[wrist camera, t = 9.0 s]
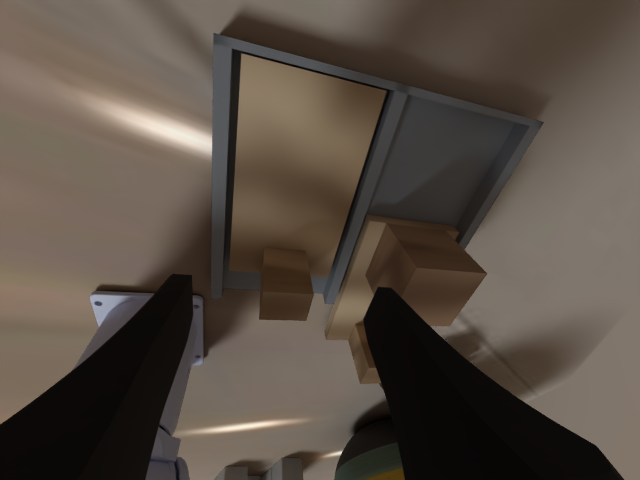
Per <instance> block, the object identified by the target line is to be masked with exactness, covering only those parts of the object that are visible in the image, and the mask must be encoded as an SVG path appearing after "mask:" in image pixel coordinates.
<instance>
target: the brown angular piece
mask: <svg viewBox="0 0 640 480" xmlns="http://www.w3.org/2000/svg"><path fill="white" fill-rule="evenodd" d="M386 223H389V224H397V225H405V226H413V227H421V228H429V229H437V230H445V231H446V232H447V233H448V234H449V235H450V236H451V237H452V238H453V239H454V240H455V239H456V237H457V235H458V234H459V232H458V231H457V230H456V229H455V228H454V227H453V226H451V225H444V224H436V223H429V222H421V221H414V220H406V219H398V218H391V217H383V216H376V215H368V214H366V215H365V218H364V221H363V224H362V227H361V229H360V232H359V235H358V238H357V241H356V243H355V246H354V249H353V252H352V255H351V258H350V260H349V263H348V266H347V269H346V272H345V274H344V277H343V280H342V283H341V286H340V289H339V291H338V294H337V297H336V300H335V303H334V306H333V308H332V311H331V314H330V317H329V320H328V322H327V325H326V328H325V331H324V332H325V337H326V340H348V341H349V345H350V348H351V352H352V356H353V359H354V363H355V367H356V370H357V374H358V378H359V381H360V384H370V383H381V381H380V378H379V375H378V372H377V369H376V367H375V364H374V361H373V358H372V355H371V352H370V349H369V346H368V342H367V338H366V333H365V328H364V322H363V318H364V316H365V314H366V312H367V310H368V307H369V305H370V303H371V301H372V299H373V296H374V295H373V292H372V290H371V287H370V285H369V283H368V280H367V278H366V276H365V274H366V272H367V269H368V267H369V264H370V262H371V260H372V257H373V255H374V252H375V250H376V247H377V245H378V242H379V240H380V238H381V235H382V233H383V230H384V228H385V225H386Z"/></svg>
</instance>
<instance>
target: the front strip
mask: <svg viewBox="0 0 640 480" xmlns="http://www.w3.org/2000/svg"><path fill="white" fill-rule="evenodd" d="M386 92H387V91H385V90H382V89H379V88H375V87H371V86H368V85H364V84H360V83H356V82H352V81H348V80H344V79H340V78H337V77H333V76H329V75H325V74H321V73H317V72H313V71H310V70H306V69H302V68H298V67H294V66H290V65H286V64H283V63H279V62H275V61H271V60H267V59H263V58H259V57H256V56H252V55H248V54H244V53H241V71H240V89H239V106H238V124H237V142H236V159H235V177H234V195H233V212H232V230H231V248H230V265H229V271H241V272H256V273H261V287H260V314H259V319H261V320H299V321H306V320H307V316H308V313H309V309H310V306H311V302H312V299H313V296H314V292H313V287H312V281H311V276H315V277H328V276H329V273H330V270H331V267H332V264H333V260H334V257H335V254H336V251H337V248H338V245H339V241H340V238H341V235H342V232H343V229H344V225H345V222H346V219H347V216H348V213H349V210H350V206H351V203H352V200H353V197H354V194H355V190H356V187H357V184H358V181H359V178H360V175H361V171H362V168H363V165H364V162H365V159H366V155H367V152H368V149H369V146H370V143H371V140H372V136H373V133H374V130H375V127H376V124H377V121H378V117H379V114H380V111H381V108H382V105H383V101H384V98H385V95H386Z"/></svg>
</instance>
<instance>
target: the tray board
mask: <svg viewBox="0 0 640 480" xmlns="http://www.w3.org/2000/svg"><path fill="white" fill-rule="evenodd" d="M241 53H244V54H248V55H252V56H256V57H259V58H263V59H267V60H271V61H275V62H279V63H283V64H286V65H290V66H294V67H298V68H302V69H306V70H310V71H313V72H317V73H321V74H325V75H329V76H333V77H337V78H340V79H344V80H348V81H352V82H356V83H360V84H364V85H368V86H371V87H375V88H379V89H382V90H385V91H387V92H386V95H385V98H384V101H383V105H382V108H381V111H380V114H379V117H378V121H377V124H376V127H375V130H374V133H373V136H372V140H371V143H370V146H369V149H368V152H367V155H366V159H365V162H364V165H363V168H362V171H361V175H360V178H359V181H358V184H357V187H356V190H355V194H354V197H353V200H352V203H351V206H350V210H349V213H348V216H347V219H346V222H345V225H344V229H343V232H342V235H341V238H340V241H339V245H338V248H337V251H336V254H335V257H334V260H333V264H332V267H331V270H330V273H329V276H328V277H315V276H311V281H312V287H313V292H314V293H321V294H323V297H324V301H325V304H334V302H335V299H336V296H337V294H338V291H339V289H340V286H341V283H342V280H343V277H344V274H345V272H346V269H347V266H348V263H349V260H350V258H351V255H352V252H353V249H354V246H355V243H356V241H357V238H358V235H359V232H360V229H361V227H362V224H363V221H364V218H365V215H366V214H368V215H376V216H383V217H391V218H398V219H406V220H414V221H421V222H429V223H436V224H444V225H451V226H453V227H454V228H455V229H456V230H457V231H458V232H459V234H458V235H457V237H456V239H455V241H456V242H457V243H458V244H459V245H460V246H461V247H462V248H463V249H464V250H465V248H466V246H467V245H468V243H469V241H470V240H471V238H472V237H473V235H474V233H475V232H476V230H477V229H478V227H479V225H480V224H481V222H482V221H483V219H484V217H485V216H486V214H487V213H488V211H489V209H490V208H491V206H492V205H493V203H494V201H495V200H496V198H497V197H498V195H499V193H500V192H501V190H502V189H503V187H504V185H505V184H506V182H507V181H508V179H509V177H510V176H511V174H512V172H513V171H514V169H515V168H516V166H517V164H518V163H519V161H520V160H521V158H522V156H523V155H524V153H525V152H526V150H527V148H528V147H529V145H530V144H531V142H532V140H533V139H534V137H535V136H536V134H537V132H538V131H539V129H540V128H541V126H542V124H543V123H544V122H542V121H538V120H534V119H531V118H527V117H523V116H520V115H516V114H512V113H508V112H505V111H501V110H497V109H494V108H490V107H486V106H482V105H479V104H475V103H471V102H468V101H464V100H460V99H457V98H453V97H449V96H445V95H442V94H438V93H434V92H431V91H427V90H423V89H419V88H416V87H412V86H408V85H405V84H401V83H397V82H393V81H390V80H386V79H382V78H379V77H375V76H371V75H368V74H364V73H360V72H356V71H353V70H349V69H345V68H342V67H338V66H334V65H330V64H327V63H323V62H319V61H316V60H312V59H308V58H305V57H301V56H297V55H293V54H290V53H286V52H282V51H279V50H275V49H271V48H267V47H264V46H260V45H256V44H253V43H249V42H245V41H241V40H238V39H234V38H230V37H227V36H223V35H219V34H216V33H214V40H213V136H212V232H211V299H222V294H223V289H224V288H225V289H244V290H260V287H261V273H256V272H241V271H229V265H230V248H231V230H232V212H233V195H234V177H235V159H236V142H237V124H238V106H239V89H240V71H241Z"/></svg>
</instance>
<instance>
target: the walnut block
mask: <svg viewBox="0 0 640 480" xmlns="http://www.w3.org/2000/svg"><path fill="white" fill-rule="evenodd" d="M486 275H487V273H486V272H485V271H484V270H483V269H482V268H481V267H480V266H479V265H478V264H477V263H476V262H475V261H474V260H473V259H472V257H471V256H470V255H469V254H468V253H467V252H466V251H465V250H464V249H463V248H462V247H461V246H460V245H459V244H458V243H457V242H456V241H455V240H454V239H453V238H452V237H451V236H450V235H449V234H448V233H447V232H446V231H445V230H437V229H429V228H421V227H413V226H405V225H397V224H389V223H386V225H385V228H384V230H383V233H382V235H381V238H380V240H379V242H378V245H377V247H376V250H375V252H374V255H373V257H372V260H371V262H370V264H369V267H368V269H367V272H366V274H365V276H366V278H367V280H368V283H369V285H370V287H371V290H372V292H373V295H374V294H375V292H376V290H377V288H378V287H390V288H392V289H393V290H394V291H395V292H396V293H397V294H398V295H399V296H400V297H401V298H402V299H403V300H404V301H405V302H406V303H407V304H408V305H409V306H410V307H411V308H412V309H413V310H414V311H415V312H416V313H417V314H418V315H419V316H420V317H421V318H422V319H423V320H424V321H425V322H426V323H427V324H428V325H429V326H450V325H451V323H452V322H453V321H454V319H455V318H456V316H457V315H458V314H459V312H460V311H461V309H462V308H463V307H464V305H465V304H466V303H467V301H468V300H469V298H470V297H471V296H472V294H473V293H474V291H475V290H476V289H477V287H478V286H479V285H480V283H481V282H482V280H483V279H484V278H485V276H486Z"/></svg>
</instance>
